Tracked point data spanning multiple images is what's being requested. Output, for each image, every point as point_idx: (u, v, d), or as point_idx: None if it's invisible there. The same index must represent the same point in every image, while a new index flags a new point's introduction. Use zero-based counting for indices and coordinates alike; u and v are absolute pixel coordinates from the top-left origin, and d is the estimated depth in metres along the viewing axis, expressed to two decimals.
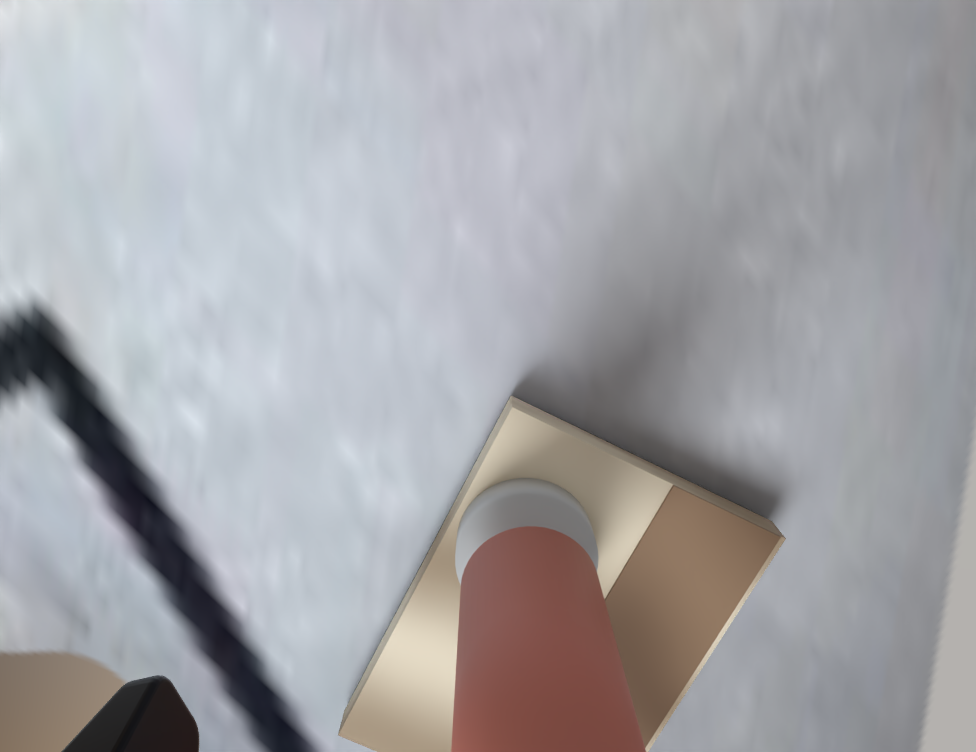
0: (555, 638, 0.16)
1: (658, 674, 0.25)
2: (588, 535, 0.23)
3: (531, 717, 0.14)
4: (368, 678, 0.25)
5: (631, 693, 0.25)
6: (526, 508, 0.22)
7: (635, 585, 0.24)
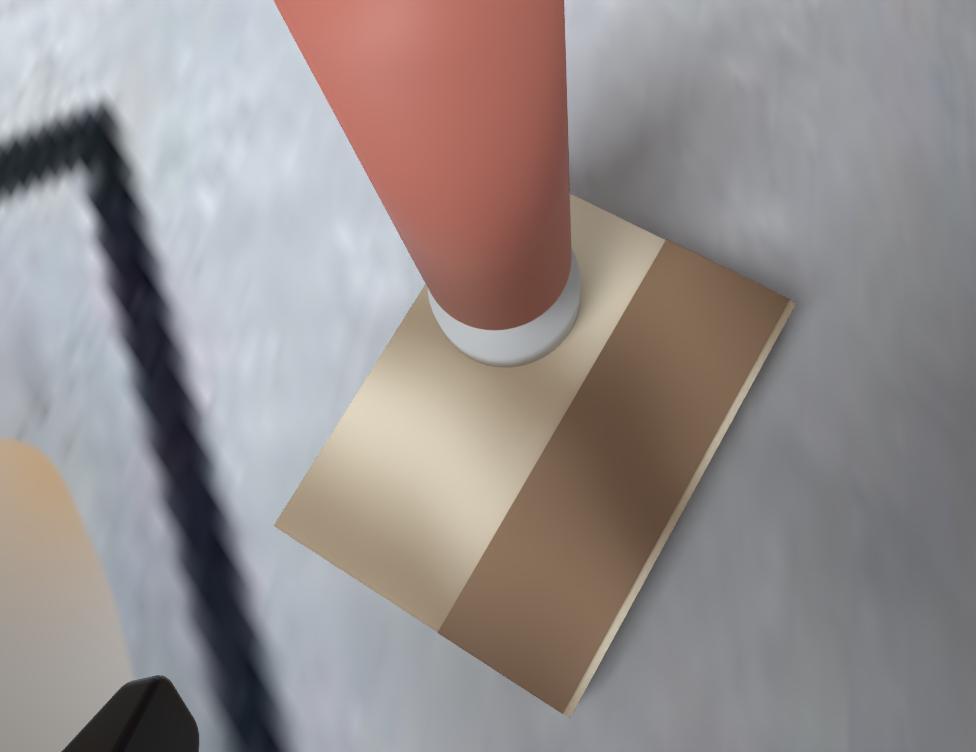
0: None
1: (656, 468, 0.21)
2: None
3: None
4: (320, 453, 0.22)
5: (623, 488, 0.21)
6: None
7: (627, 352, 0.22)
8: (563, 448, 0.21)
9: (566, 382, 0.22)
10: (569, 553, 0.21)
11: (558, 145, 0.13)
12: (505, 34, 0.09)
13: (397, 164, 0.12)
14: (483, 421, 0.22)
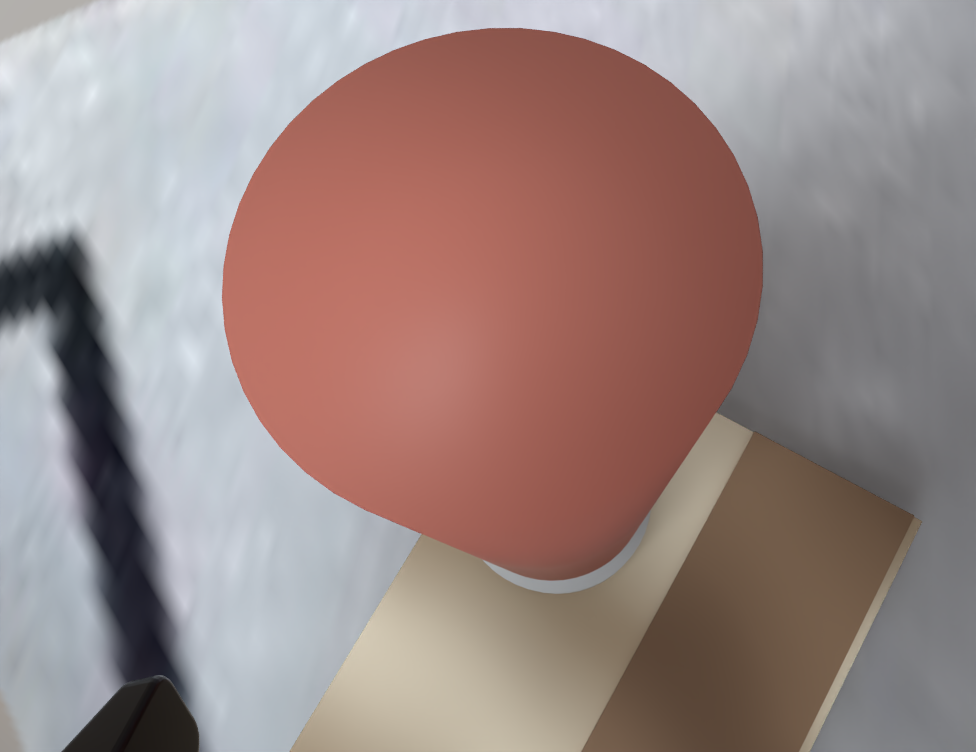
0: None
1: (749, 738, 0.16)
2: None
3: None
4: (321, 700, 0.18)
5: None
6: None
7: (708, 579, 0.17)
8: (630, 705, 0.17)
9: (632, 616, 0.17)
10: None
11: None
12: (664, 468, 0.05)
13: (445, 543, 0.07)
14: (527, 665, 0.17)
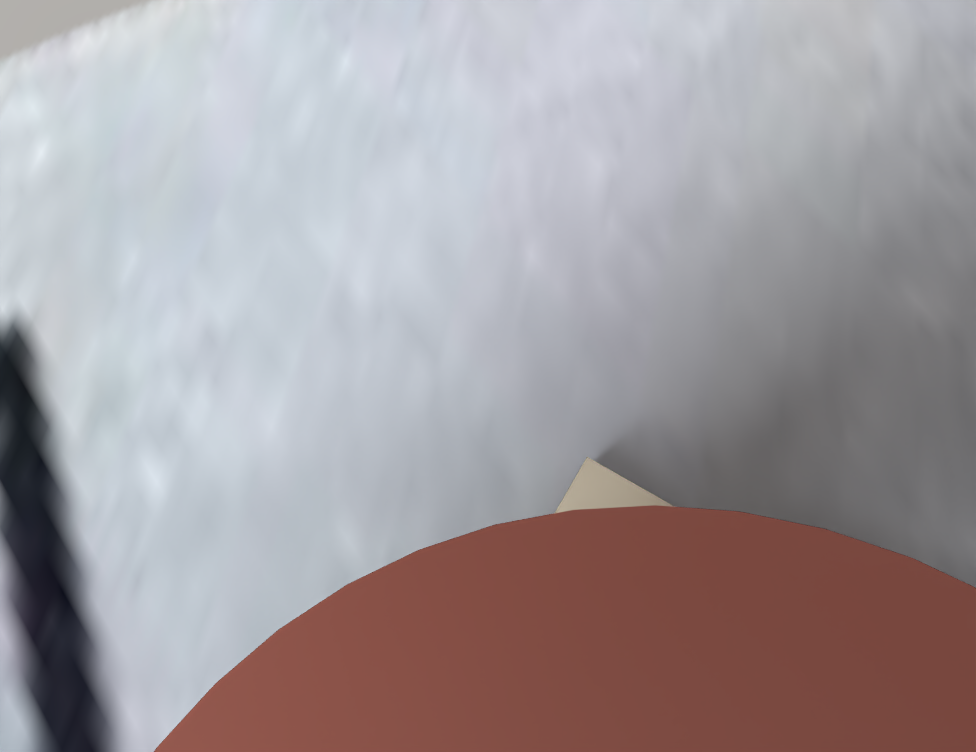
0: None
1: None
2: None
3: None
4: None
5: None
6: None
7: None
8: None
9: None
10: None
11: None
12: None
13: None
14: None
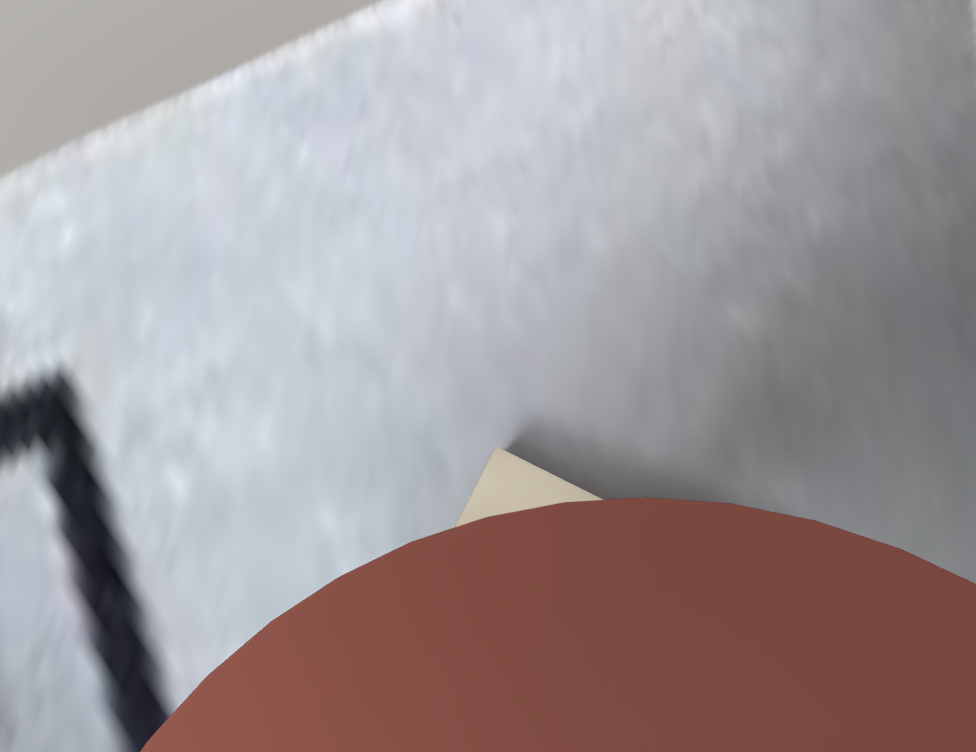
0: None
1: None
2: None
3: None
4: None
5: None
6: None
7: None
8: None
9: None
10: None
11: None
12: None
13: None
14: None
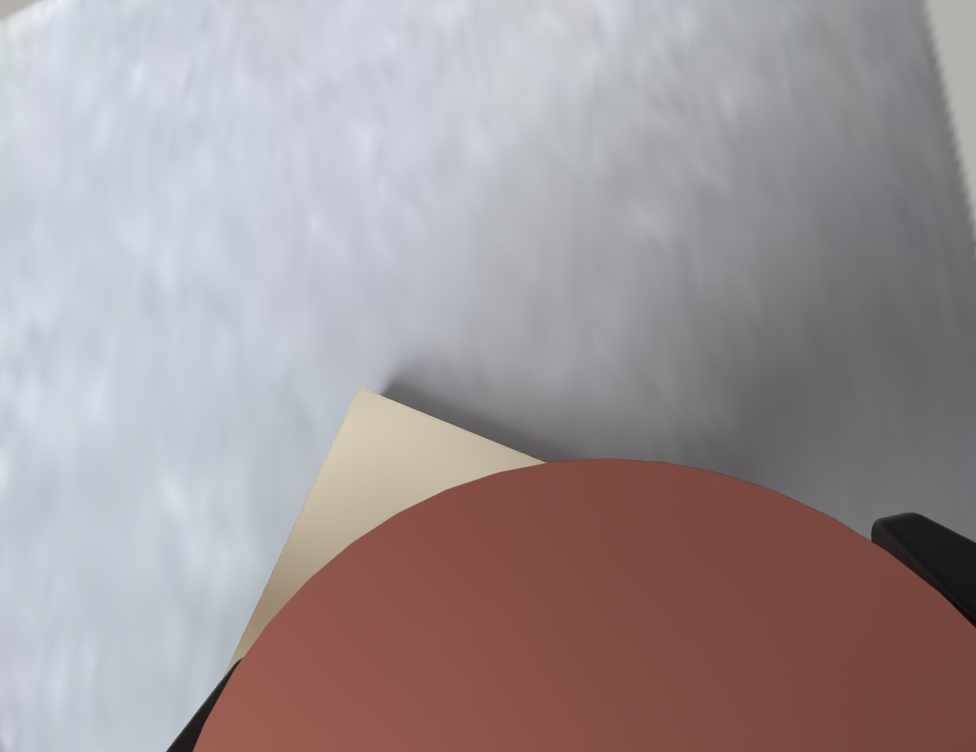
0: None
1: None
2: None
3: None
4: None
5: None
6: None
7: None
8: None
9: None
10: None
11: None
12: None
13: None
14: None
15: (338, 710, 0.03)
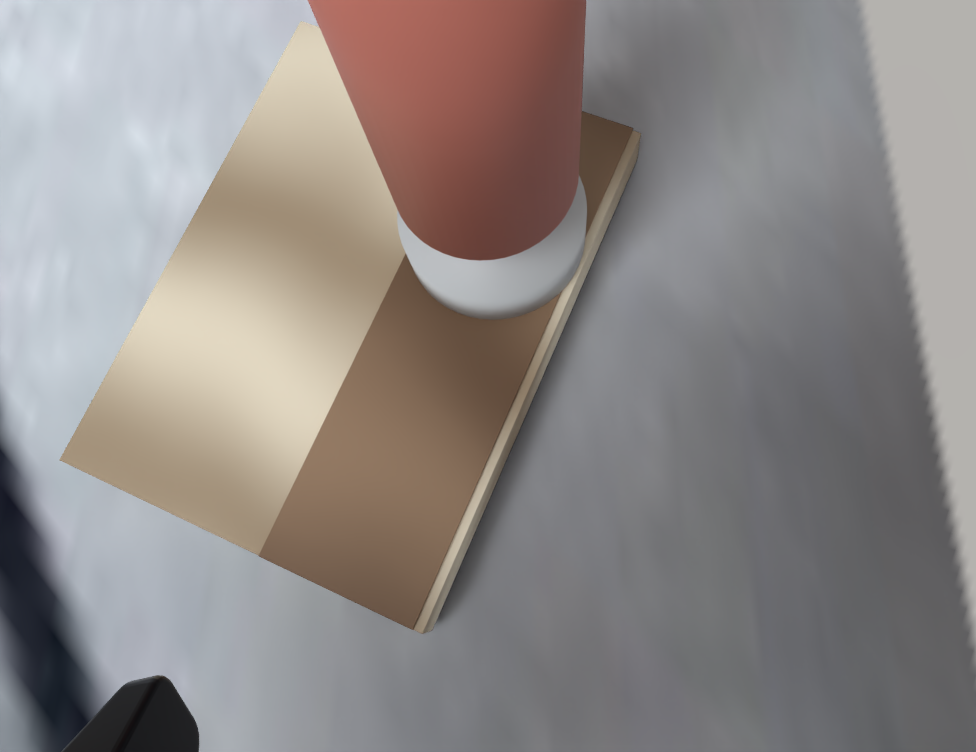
0: None
1: (499, 334, 0.18)
2: None
3: None
4: (110, 370, 0.19)
5: (462, 360, 0.18)
6: None
7: None
8: (392, 325, 0.18)
9: (389, 252, 0.19)
10: (406, 443, 0.17)
11: None
12: None
13: None
14: (297, 308, 0.18)
15: None
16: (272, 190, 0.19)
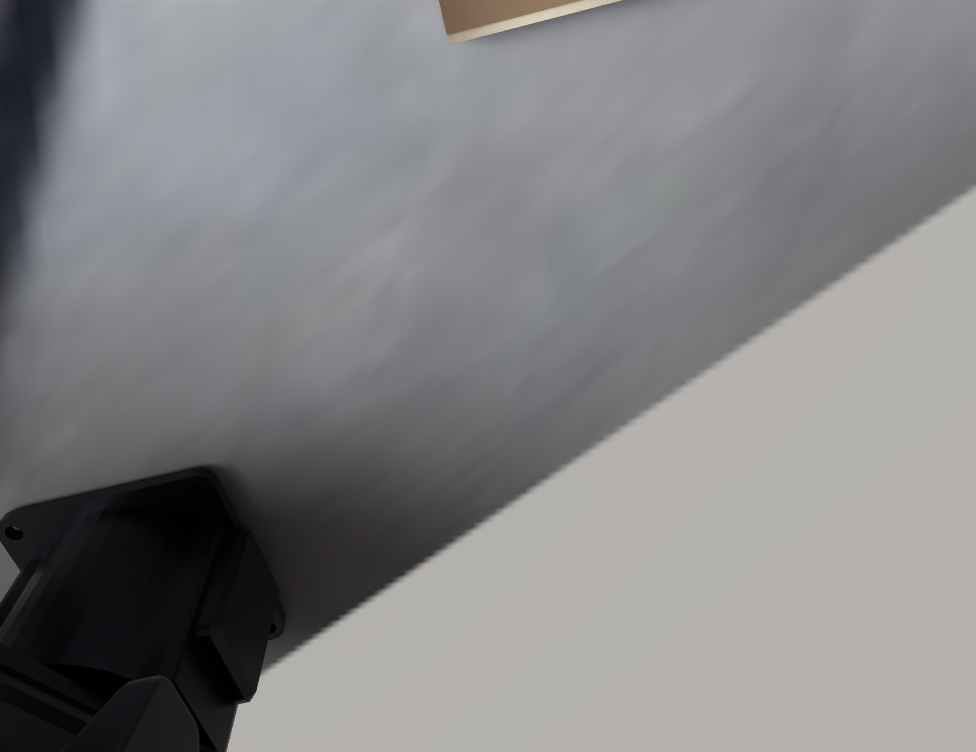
0: None
1: None
2: None
3: None
4: None
5: None
6: None
7: None
8: None
9: None
10: None
11: None
12: None
13: None
14: None
15: None
16: None
